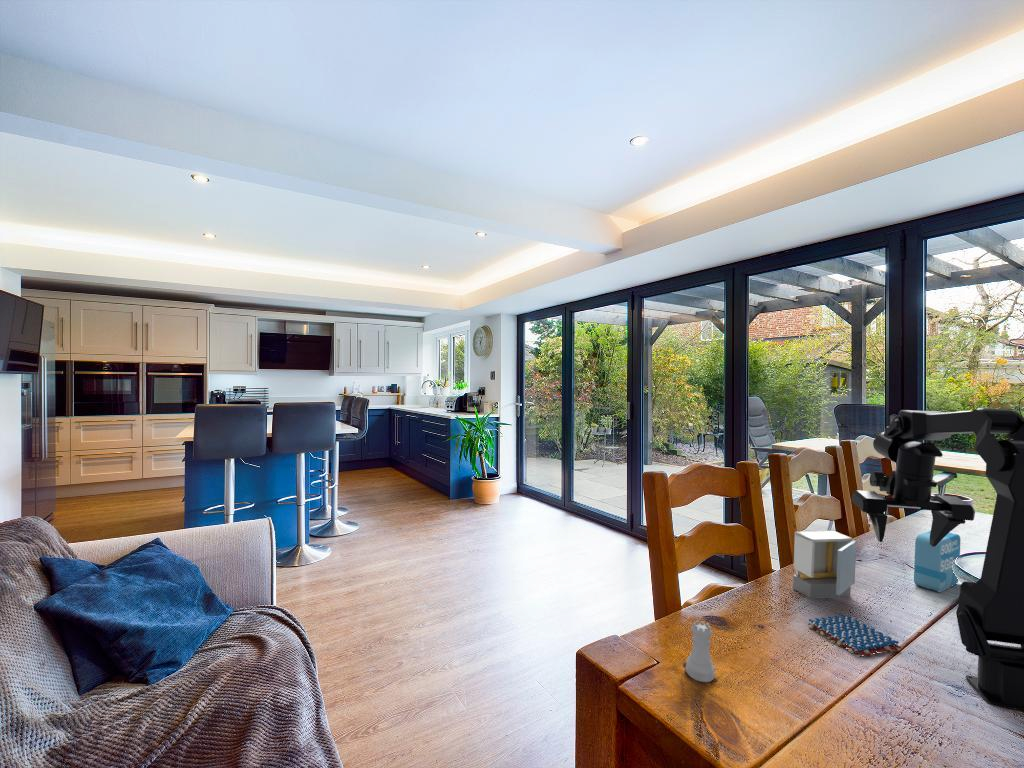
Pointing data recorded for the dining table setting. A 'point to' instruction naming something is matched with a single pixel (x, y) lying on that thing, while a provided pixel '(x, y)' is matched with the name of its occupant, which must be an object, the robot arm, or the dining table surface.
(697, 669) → the rook chess piece
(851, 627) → the woven mat
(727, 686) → the dining table surface
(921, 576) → the blue carton
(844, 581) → the box door
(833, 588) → the box
